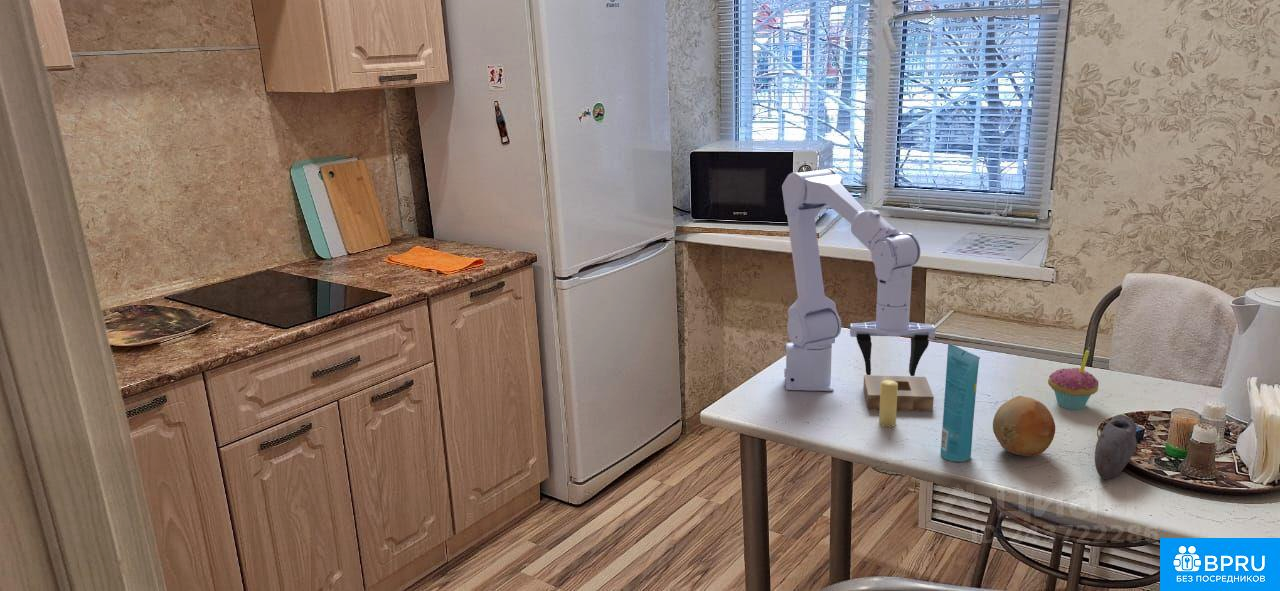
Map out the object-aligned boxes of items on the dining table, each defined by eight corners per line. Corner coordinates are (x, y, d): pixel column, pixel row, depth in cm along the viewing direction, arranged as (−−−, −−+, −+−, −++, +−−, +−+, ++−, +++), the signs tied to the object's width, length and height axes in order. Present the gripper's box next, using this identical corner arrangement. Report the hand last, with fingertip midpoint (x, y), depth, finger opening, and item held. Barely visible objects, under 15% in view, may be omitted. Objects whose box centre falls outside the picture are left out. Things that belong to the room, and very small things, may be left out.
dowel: (879, 426, 160) (881, 386, 158) (878, 419, 163) (879, 380, 161) (896, 427, 160) (898, 386, 158) (894, 420, 163) (896, 380, 160)
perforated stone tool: (1117, 491, 136) (1123, 450, 134) (1080, 481, 139) (1085, 441, 137) (1139, 454, 147) (1144, 417, 145) (1105, 446, 150) (1110, 409, 148)
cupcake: (1095, 399, 168) (1102, 341, 165) (1096, 417, 161) (1104, 356, 157) (1046, 393, 172) (1052, 336, 168) (1045, 410, 164) (1051, 350, 161)
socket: (867, 409, 168) (868, 395, 167) (863, 389, 177) (863, 375, 176) (932, 411, 166) (933, 396, 165) (924, 390, 175) (925, 376, 174)
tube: (982, 461, 146) (991, 354, 141) (960, 468, 144) (969, 359, 139) (949, 444, 153) (956, 340, 147) (928, 450, 151) (935, 346, 145)
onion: (982, 456, 148) (986, 402, 145) (1001, 435, 155) (1005, 383, 152) (1042, 472, 142) (1048, 415, 139) (1059, 449, 149) (1065, 395, 146)
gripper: (853, 308, 152) (850, 380, 156) (939, 309, 150) (934, 383, 154) (850, 296, 159) (847, 366, 163) (933, 297, 156) (928, 368, 160)
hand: (889, 373), depth 159 cm, fingers open, 7 cm apart
